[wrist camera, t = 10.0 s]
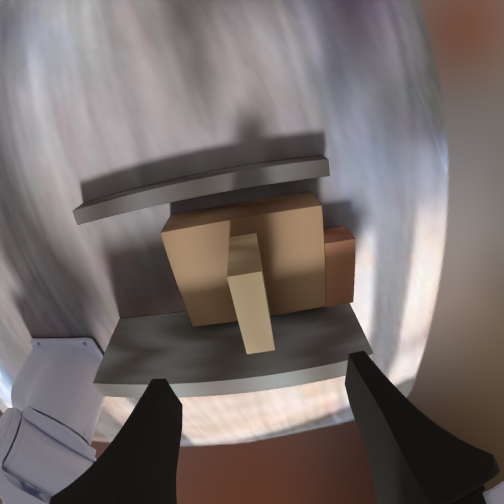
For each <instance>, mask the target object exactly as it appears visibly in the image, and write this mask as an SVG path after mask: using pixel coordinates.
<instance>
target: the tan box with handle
mask: <svg viewBox="0 0 504 504" xmlns="http://www.w3.org/2000/svg"><path fill="white" fill-rule="evenodd" d="M160 234H161V237H162V240H163V243H164V246H165V249H166V253H167V256H168V259H169V262H170V265H171V268H172V271H173V273H174V276H175V279H176V282H177V285H178V288H179V291H180V293H181V296H182V299H183V302H184V304H185V307H186V310H187V312H188V315H189V318H190V320H191V323H192V325H193V327H194V326H203V325H211V324H219V323H226V322H234V321H238V322H239V326H240V330H241V334H242V337H243V341H244V345H245V349H246V352H247V354H252V353H260V352H266V351H273V350H275V346H274V340H273V333H272V326H271V319H270V316H273V315H279V314H285V313H291V312H297V311H302V310H308V309H313V308H318V307H324V306H326V279H325V252H324V232H323V216H322V205H321V204H320V203H319V202H318V200H317V199H316V198H315V197H314V195H313V194H312V193H311V192H304V193H297V194H290V195H283V196H277V197H270V198H264V199H258V200H252V201H246V202H240V203H234V204H229V205H223V206H218V207H212V208H207V209H202V210H196V211H191V212H186V213H181V214H176V215H171V216H170V217H169V219H168V221H167V222H166V224H165V226H164V228H163V229H162V231H161V233H160Z"/></svg>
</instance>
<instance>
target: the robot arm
mask: <svg viewBox="0 0 504 504" xmlns="http://www.w3.org/2000/svg"><path fill="white" fill-rule="evenodd" d="M30 343H31V345H32V346H33V350H32V351H31V353H30V355H29V356H28V358H27V360H26V362H25V363H24V365H23V367H22V369H21V370H20V372H19V374H18V376H17V378H16V380H15V381H14V384H13V386H12V391H11V400H12V405H13V408H8V409H6V411H5V412H4V413H3V415H2V416H1V418H0V498H1V499H2V501H3V504H177V503H176V502H177V501H176V471H177V462H178V455H179V447H180V440H181V432H182V404H181V402H180V401H179V399H178V397H177V396H176V394H175V393H174V391H173V390H172V388H171V386H170V385H169V383H168V381H167V380H166V378H165V379H152V380H151V381H150V383H149V385H148V386H147V388H146V390H145V391H144V393H143V395H142V396H141V398H140V400H139V401H138V403H137V405H136V406H135V408H134V410H133V411H132V413H131V415H130V416H129V418H128V419H127V421H126V422H125V424H124V425H123V427H122V428H121V430H120V431H119V433H118V434H117V435H116V437H115V438H114V440H113V441H112V442H111V444H110V445H109V446H108V448H107V449H106V450H105V451H104V452H103V453H102V455H101V456H100V457H99V458H98V459H95V454H96V450H95V449H93V448H92V447H90V446H91V442H92V438H93V435H94V431H95V428H96V425H97V421H98V418H99V415H100V412H101V408H102V405H103V402H104V399H105V396H103V395H102V394H101V393H100V392H99V391H98V389H97V388H96V387H95V386H94V384H93V381H94V378H95V376H96V373H97V371H98V368H99V366H100V363H101V361H102V358H103V354H102V353H101V351H100V350H99V348H98V347H97V345H96V344H95V342H94V341H93V339H91V338H32V339H31V340H30ZM345 386H346V391H347V395H348V399H349V403H350V407H351V409H352V412H353V415H354V418H355V420H356V423H357V426H358V429H359V431H360V434H361V437H362V439H363V442H364V445H365V448H366V451H367V455H368V458H369V463H370V468H371V473H372V478H373V483H374V489H375V495H376V501H377V504H504V481H503V482H502V483H500V484H499V485H498V486H496V487H494V488H493V489H491V490H489V491H487V492H485V493H482V492H483V491H484V490H485V487H484V485H483V484H485V483H486V482H488V481H489V480H491V479H492V478H494V477H495V476H496V475H498V474H499V473H500V469H499V466H498V464H497V461H496V459H495V458H494V456H493V455H492V454H490V453H488V452H486V451H483V450H481V449H478V448H476V447H474V446H472V445H470V444H468V443H466V442H465V441H463V440H461V439H459V438H457V437H456V436H454V435H453V434H451V433H450V432H448V431H446V430H445V429H443V428H442V427H440V426H439V425H438V424H436V423H435V422H434V421H432V420H431V419H430V418H428V417H427V416H426V415H425V414H423V413H422V412H421V411H420V410H419V409H418V408H416V407H415V406H414V405H413V404H412V403H411V402H410V401H409V400H408V399H407V398H406V397H405V396H404V395H403V394H402V393H401V392H400V391H399V390H398V389H397V388H396V387H395V386H394V385H393V384H392V383H391V382H390V381H389V379H388V378H387V377H386V376H385V375H384V374H383V373H382V372H381V370H380V369H379V368H378V367H377V366H376V364H375V363H374V362H373V361H372V359H371V358H370V357H369V356H368V354H367V353H366V352H365V351H359V352H355V353H350V354H348V363H347V371H346V379H345ZM10 473H11V474H10ZM13 475H14V476H13ZM15 476H16V477H15ZM18 478H19V479H18ZM20 479H21V480H20ZM23 481H24V482H23ZM25 482H26V483H25ZM28 484H29V485H28ZM30 485H31V486H30ZM32 486H33V487H32ZM37 489H38V490H37ZM39 490H40V491H39ZM41 491H42V492H41ZM43 492H44V493H43ZM45 493H46V494H45ZM47 494H48V495H47ZM49 495H50V496H49Z"/></svg>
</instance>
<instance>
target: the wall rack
mask: <svg viewBox="0 0 504 504" xmlns="http://www.w3.org/2000/svg"><path fill="white" fill-rule="evenodd" d="M325 176H330V173H329V161H328V159H327V158H326V157H324V156H322V155H315V156H307V157H299V158H291V159H283V160H276V161H269V162H263V163H256V164H250V165H244V166H238V167H233V168H227V169H222V170H216V171H211V172H206V173H201V174H196V175H191V176H187V177H182V178H177V179H173V180H169V181H164V182H160V183H156V184H152V185H148V186H144V187H140V188H136V189H132V190H128V191H124V192H121V193H117V194H113V195H110V196H106V197H103V198H99V199H96V200H93V201H89V202H86V203H83V204H81V205H80V206H79V207H77V208H76V209H75V210H73V214H74V217H75V220H76V222H77V225H80V224H83V223H87V222H91V221H94V220H98V219H102V218H106V217H110V216H114V215H118V214H122V213H126V212H130V211H134V210H139V209H143V208H147V207H152V206H156V205H161V204H165V203H170V202H175V201H179V200H184V199H189V198H194V197H199V196H204V195H210V194H215V193H220V192H226V191H231V190H237V189H243V188H249V187H255V186H261V185H268V184H274V183H281V182H288V181H295V180H302V179H310V178H317V177H325ZM323 232H324V252H325V279H326V306H324V307H318V308H313V309H308V310H302V311H297V312H291V313H285V314H279V315H273V316H270V319H271V326H272V333H273V340H274V346H275V350H273V351H266V352H260V353H252V354H247V352H246V349H245V345H244V341H243V337H242V334H241V330H240V326H239V322H238V321H234V322H226V323H219V324H211V325H203V326H194V327H193V325H192V323H191V320H190V318H189V315H188V312H187V311H186V312H177V313H169V314H160V315H151V316H141V317H131V318H120V319H119V322H118V324H117V326H116V328H115V330H114V333H113V335H112V337H111V339H110V342H109V344H108V346H107V349H106V351H105V354H104V356H103V358H102V361H101V363H100V366H99V368H98V371H97V373H96V376H95V378H94V381H93V384H94V386H95V387H96V388H97V389H98V391H99V392H100V393H101V394H102V395H103V396H111V397H135V398H141V396H142V395H143V393H144V391H145V390H146V388H147V386H148V385H149V383H150V381H151V380H152V379H165V378H166V380H167V381H168V383H169V385H170V386H171V388H172V390H173V391H174V393H175V394H176V396H177V397H200V396H215V395H227V394H238V393H247V392H256V391H263V390H271V389H278V388H284V387H290V386H296V385H302V384H307V383H313V382H318V381H323V380H327V379H332V378H337V377H341V376H345V375H346V371H347V363H348V354H350V353H355V352H359V351H365V352H366V353H367V354H368V356H369V357H370V358H371V359H373V351H372V349H371V347H370V345H369V343H368V341H367V338H366V336H365V334H364V332H363V330H362V328H361V326H360V324H359V322H358V320H357V318H356V315H355V313H354V311H353V309H352V307H351V305H350V303H351V302H353V297H354V276H355V238H354V237H353V235H352V234H351V233H350V232H349V230H348V229H347V228H346V227H345V226H342V227H336V228H329V229H323Z"/></svg>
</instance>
